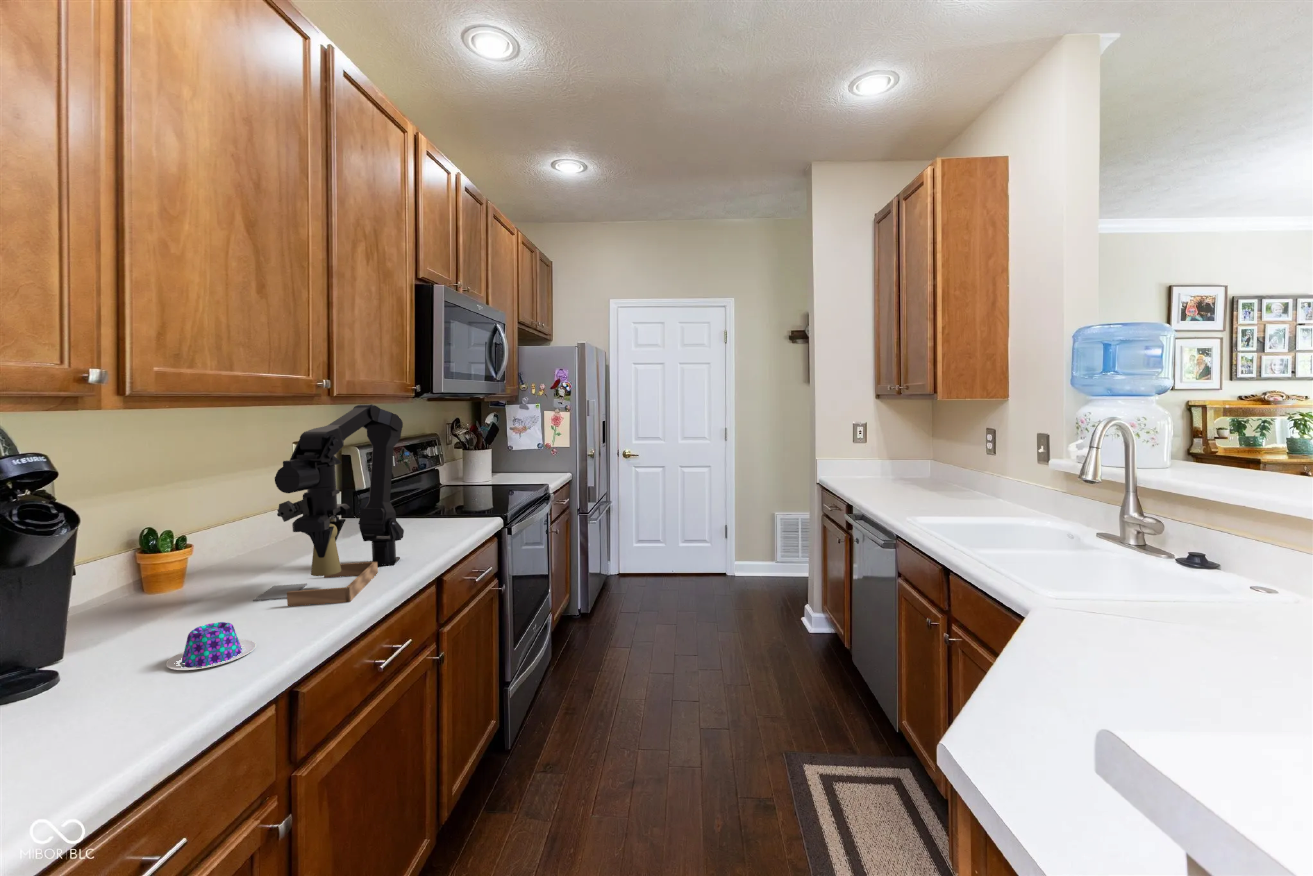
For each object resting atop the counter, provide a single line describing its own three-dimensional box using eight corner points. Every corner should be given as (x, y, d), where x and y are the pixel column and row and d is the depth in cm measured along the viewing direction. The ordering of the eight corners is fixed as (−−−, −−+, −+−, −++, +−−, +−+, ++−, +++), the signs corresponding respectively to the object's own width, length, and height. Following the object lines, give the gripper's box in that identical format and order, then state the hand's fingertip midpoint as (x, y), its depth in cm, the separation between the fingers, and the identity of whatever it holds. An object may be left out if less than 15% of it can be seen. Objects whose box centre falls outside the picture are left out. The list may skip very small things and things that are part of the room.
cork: (347, 568, 136) (344, 521, 136) (330, 576, 130) (327, 527, 130) (322, 568, 137) (320, 521, 136) (304, 576, 131) (302, 527, 130)
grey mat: (274, 586, 136) (273, 585, 136) (307, 584, 137) (307, 583, 137) (253, 601, 126) (253, 599, 126) (288, 598, 128) (288, 597, 128)
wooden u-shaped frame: (325, 576, 144) (324, 564, 143) (377, 573, 146) (377, 561, 146) (287, 606, 122) (286, 592, 122) (349, 602, 125) (349, 588, 124)
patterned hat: (250, 638, 107) (249, 609, 106) (261, 658, 98) (259, 627, 98) (164, 657, 99) (162, 627, 98) (168, 682, 90) (166, 648, 90)
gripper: (299, 482, 140) (302, 547, 141) (262, 494, 122) (267, 568, 123) (349, 480, 142) (352, 544, 143) (321, 491, 124) (325, 564, 125)
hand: (325, 554), depth 133 cm, fingers closed on cork, 4 cm apart
